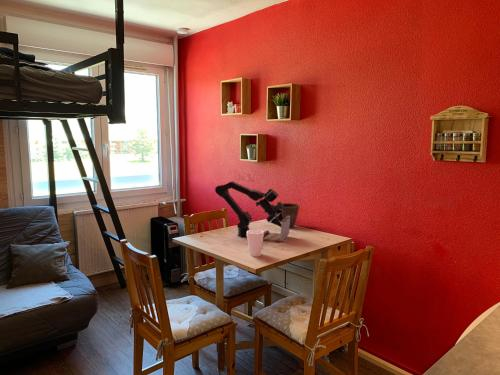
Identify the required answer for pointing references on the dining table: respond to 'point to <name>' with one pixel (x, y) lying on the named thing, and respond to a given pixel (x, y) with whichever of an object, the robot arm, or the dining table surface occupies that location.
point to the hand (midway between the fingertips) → (284, 225)
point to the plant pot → (290, 212)
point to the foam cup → (255, 242)
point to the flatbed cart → (271, 237)
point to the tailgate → (285, 228)
